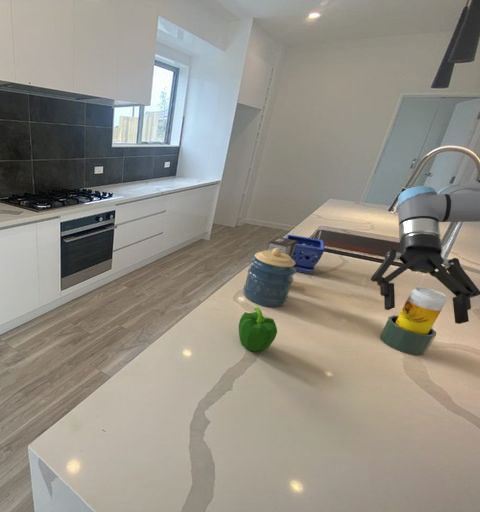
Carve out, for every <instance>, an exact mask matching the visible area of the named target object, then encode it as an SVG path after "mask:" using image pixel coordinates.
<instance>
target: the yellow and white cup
mask: <svg viewBox="0 0 480 512" xmlns="http://www.w3.org/2000/svg"><path fill="white" fill-rule="evenodd" d="M446 303H447V295H446V294H445V293H442V292H441V291H438V290H436V289H432V288H428V287H425V286H424V287H423V286H417V287H415V288H413V289H412V290H411V291H410V293H409V294H408V297H407V299H406V300H405V302H404V304H403V306H402V308H401V310H400V313H399V314H398V315H397V316H398V318H397V320H396V322H395V324H396V325H398V326H399V327H401V328H404V329H406V330H408V331H411V332H414V333H418V334H423V335H428V333H429V331H430V329H431V328H432V329H433V326H434V324H435V322H436V320H437V319H438V317H439V316H440V314H441V312H442V310H443V308H444V306H445V305H446Z"/></svg>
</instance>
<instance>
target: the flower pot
mask: <svg viewBox="0 0 480 512" xmlns="http://www.w3.org/2000/svg"><path fill="white" fill-rule="evenodd" d="M285 238H287V239H291V240H295V241H297V244H296V247H295V250H294V253H293V256H292V259H293V260H294V261H295V263H296V264H295V265H294V267H295V268H296V272H299V273H303V274H312V273H313V272H314V271H315V266H316V265H317V264H318V263H319V261H320V260H321V258H322V256H323V254H324V252H325V249H326V248H325V241H324V240H323V239H318V238H313V237H307V236H301V235H293V234H286V235H285Z"/></svg>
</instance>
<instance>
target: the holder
mask: <svg viewBox="0 0 480 512" xmlns="http://www.w3.org/2000/svg"><path fill="white" fill-rule="evenodd" d="M398 316H399V315H390V316H388V318H387V320H386V322H385V324H384V325H383V328H382V330H381V332H380V335H379V339H380V341H382V342H383V344H385V345H386V346H388V347H390V348H392V349H394V350H396V351H398V352H401V353H403V354H408V355H412V356H424V355H425V354H426V352H428V350H429V348H430V346H431V344H432V343H433V341H434V340H435V338H436V337H437V331H436V330H434V329H433V327H432V328H431V329H430V331H429V333H428V335H423V334H418V333H414V332H411V331H408V330H406V329H404V328H401V327H399V326H398V325H396V324H395V322H396V320H397V318H398Z"/></svg>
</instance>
